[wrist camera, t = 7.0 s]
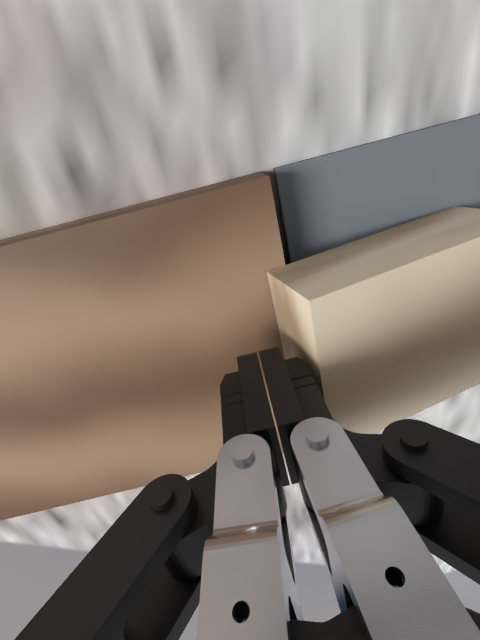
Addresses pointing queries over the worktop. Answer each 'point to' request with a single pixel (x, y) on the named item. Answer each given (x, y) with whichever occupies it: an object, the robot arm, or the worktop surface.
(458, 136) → the mat
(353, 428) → the tile
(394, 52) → the worktop surface
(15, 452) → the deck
